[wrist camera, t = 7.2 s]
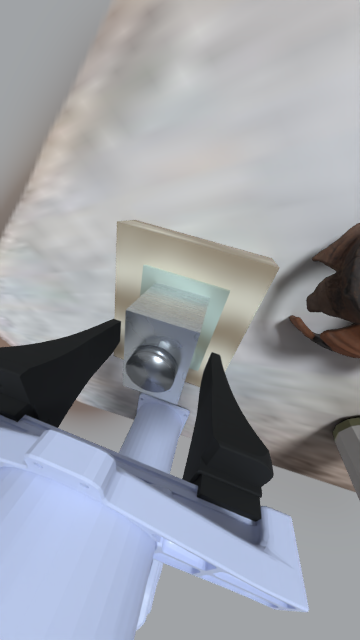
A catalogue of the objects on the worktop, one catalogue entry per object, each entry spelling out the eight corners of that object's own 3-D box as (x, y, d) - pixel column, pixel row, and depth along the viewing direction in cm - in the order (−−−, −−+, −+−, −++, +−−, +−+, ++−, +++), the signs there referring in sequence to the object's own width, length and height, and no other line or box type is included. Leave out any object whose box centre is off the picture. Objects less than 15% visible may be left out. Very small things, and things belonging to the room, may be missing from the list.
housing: (190, 360, 18) (173, 417, 13) (147, 346, 19) (115, 396, 14) (209, 297, 14) (197, 343, 9) (156, 282, 15) (116, 318, 10)
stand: (216, 372, 22) (214, 394, 20) (126, 340, 24) (112, 357, 21) (271, 258, 15) (280, 268, 12) (135, 220, 16) (114, 221, 13)
